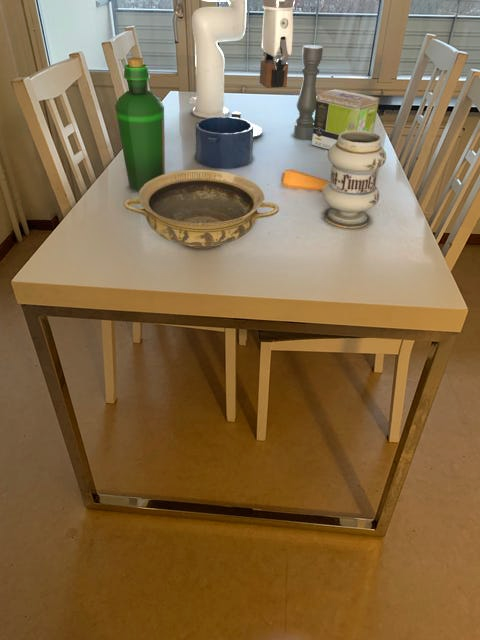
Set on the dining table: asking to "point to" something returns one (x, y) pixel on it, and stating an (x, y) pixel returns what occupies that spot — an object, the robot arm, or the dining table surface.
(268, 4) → the robot arm
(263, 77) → the block
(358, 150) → the apothecary jar
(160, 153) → the bottle
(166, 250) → the dining table surface
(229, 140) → the pot
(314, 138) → the tea box
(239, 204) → the ceramic bowl
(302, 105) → the candle holder
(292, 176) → the carrot
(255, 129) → the lid
